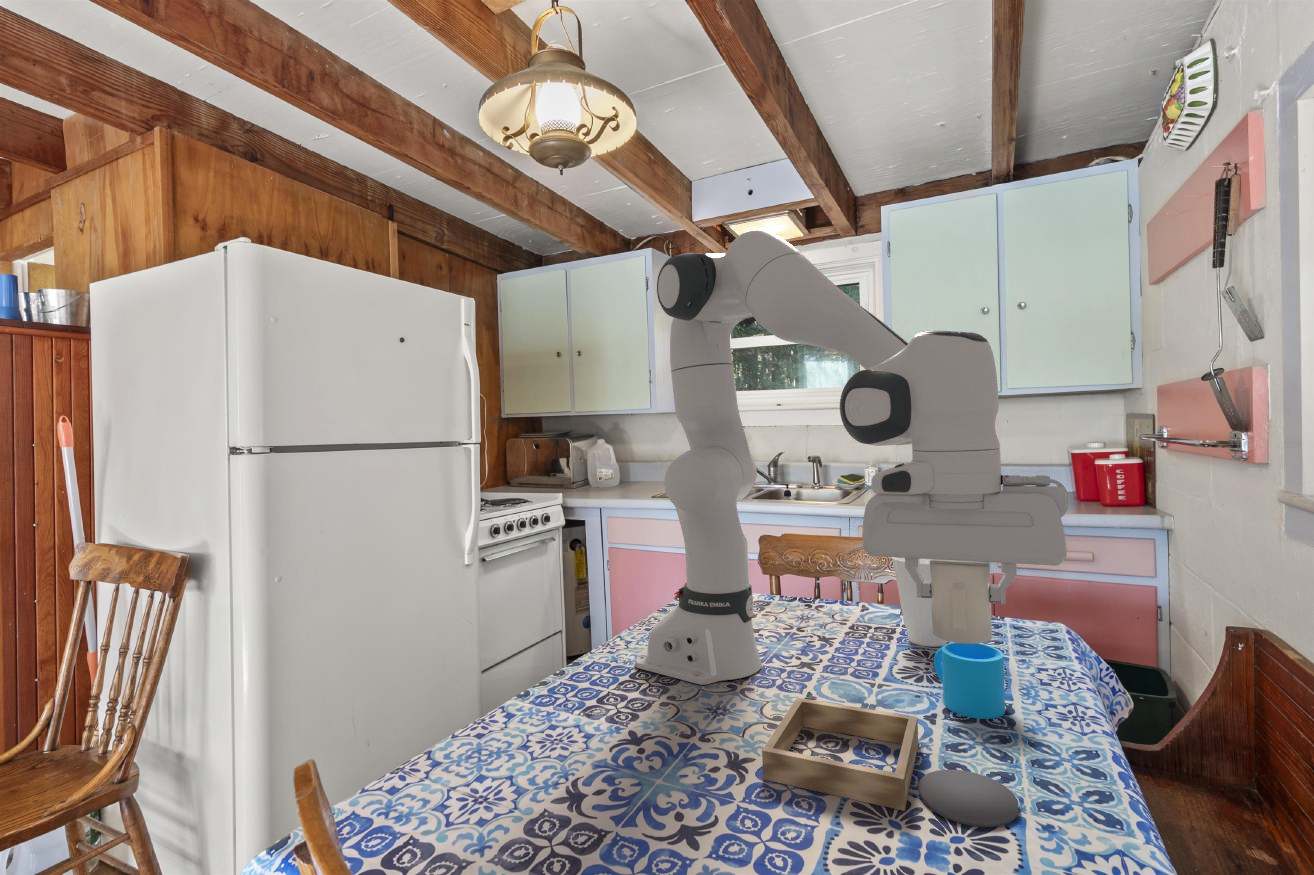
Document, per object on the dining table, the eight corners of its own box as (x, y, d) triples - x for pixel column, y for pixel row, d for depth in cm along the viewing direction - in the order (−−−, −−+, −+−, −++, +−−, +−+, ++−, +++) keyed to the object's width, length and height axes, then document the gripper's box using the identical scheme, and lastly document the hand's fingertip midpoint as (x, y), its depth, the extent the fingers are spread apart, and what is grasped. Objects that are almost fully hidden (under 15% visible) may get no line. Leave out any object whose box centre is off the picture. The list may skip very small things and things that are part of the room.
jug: (933, 623, 75) (931, 555, 75) (991, 628, 72) (989, 558, 72) (928, 648, 67) (926, 573, 67) (993, 655, 65) (990, 576, 64)
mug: (1018, 713, 91) (1017, 656, 91) (971, 723, 89) (969, 664, 89) (957, 682, 103) (956, 631, 102) (914, 689, 100) (912, 638, 100)
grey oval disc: (914, 813, 69) (914, 807, 69) (922, 767, 78) (922, 762, 78) (1020, 836, 65) (1020, 831, 65) (1016, 785, 73) (1016, 780, 73)
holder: (763, 779, 77) (762, 750, 77) (797, 721, 91) (796, 697, 91) (904, 810, 70) (903, 779, 70) (918, 743, 84) (917, 716, 84)
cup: (893, 647, 119) (890, 562, 119) (895, 627, 130) (892, 549, 130) (963, 653, 114) (960, 565, 114) (960, 633, 125) (957, 551, 125)
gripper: (1063, 472, 69) (1067, 600, 69) (866, 473, 78) (870, 585, 78) (1070, 478, 63) (1075, 617, 63) (857, 478, 72) (861, 599, 73)
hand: (960, 599), depth 71 cm, fingers closed on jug, 6 cm apart
